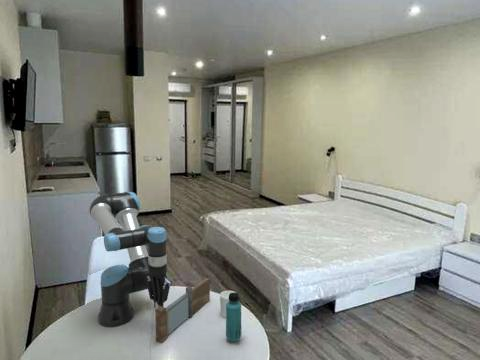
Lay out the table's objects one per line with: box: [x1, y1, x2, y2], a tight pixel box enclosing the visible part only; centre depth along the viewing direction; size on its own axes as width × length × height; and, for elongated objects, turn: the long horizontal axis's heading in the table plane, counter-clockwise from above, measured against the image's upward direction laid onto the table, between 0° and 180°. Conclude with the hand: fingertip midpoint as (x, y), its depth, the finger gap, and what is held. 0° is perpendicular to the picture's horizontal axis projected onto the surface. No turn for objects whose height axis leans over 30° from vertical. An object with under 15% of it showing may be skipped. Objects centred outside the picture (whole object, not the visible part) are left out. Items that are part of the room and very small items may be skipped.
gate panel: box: [165, 292, 189, 337], centre depth 147 cm, size 16×2×12 cm, turn 154°
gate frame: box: [154, 277, 211, 344], centre depth 154 cm, size 3×38×14 cm, turn 154°
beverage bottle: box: [225, 292, 242, 342], centre depth 139 cm, size 6×7×20 cm
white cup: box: [219, 290, 237, 319], centre depth 159 cm, size 8×8×10 cm
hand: (159, 315), depth 148 cm, fingers closed
